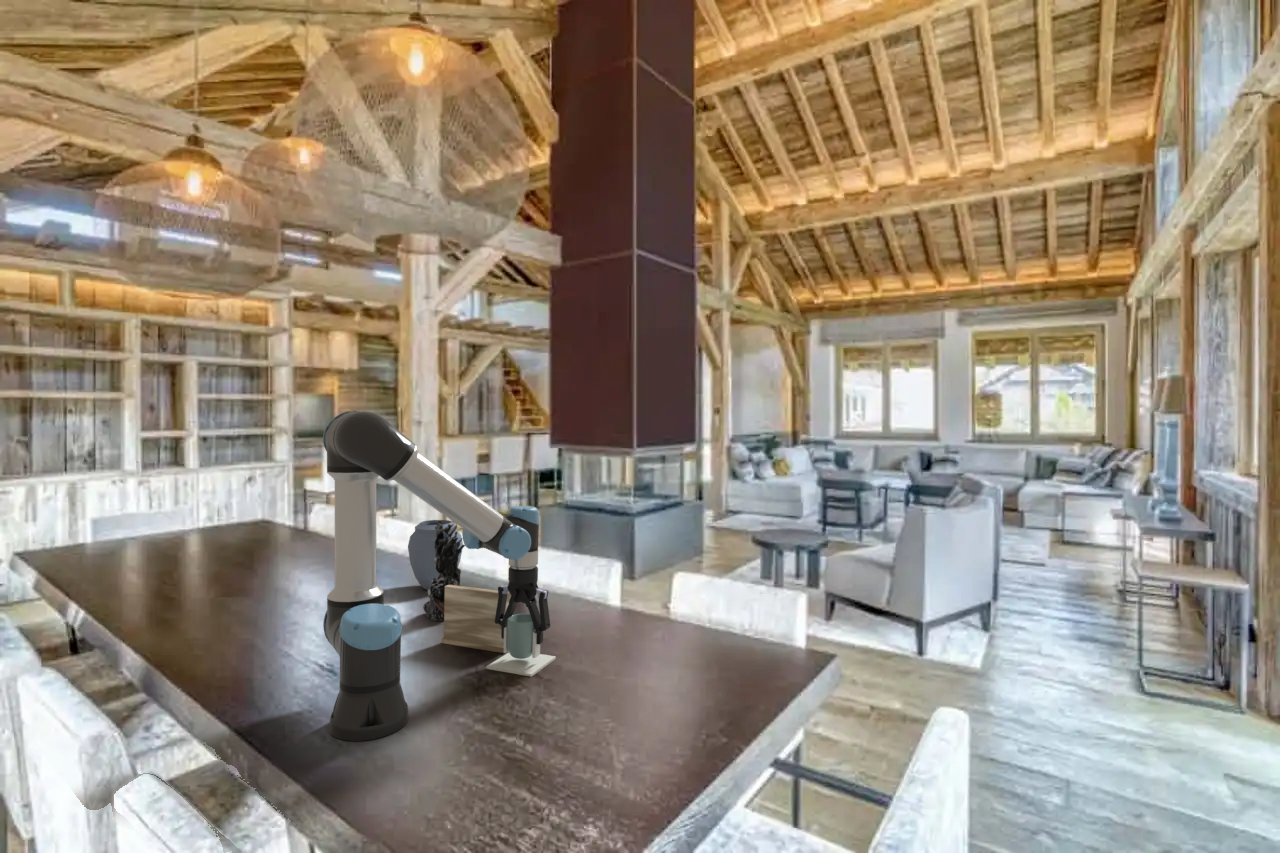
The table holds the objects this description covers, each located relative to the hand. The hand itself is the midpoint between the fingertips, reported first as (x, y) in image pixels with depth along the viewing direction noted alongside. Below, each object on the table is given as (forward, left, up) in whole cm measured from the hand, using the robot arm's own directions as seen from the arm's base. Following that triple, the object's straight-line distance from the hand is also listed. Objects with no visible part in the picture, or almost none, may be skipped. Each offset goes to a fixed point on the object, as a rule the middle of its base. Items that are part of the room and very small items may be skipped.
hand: (521, 653), depth 170 cm
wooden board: (+6, +18, -3) cm, 19 cm away
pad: (0, 0, -3) cm, 3 cm away
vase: (+52, +67, -3) cm, 85 cm away
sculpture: (+25, +43, -3) cm, 50 cm away
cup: (0, 0, -1) cm, 1 cm away
